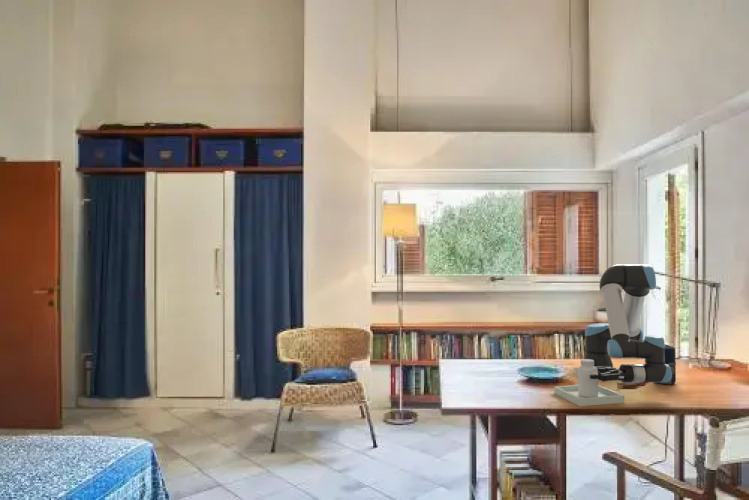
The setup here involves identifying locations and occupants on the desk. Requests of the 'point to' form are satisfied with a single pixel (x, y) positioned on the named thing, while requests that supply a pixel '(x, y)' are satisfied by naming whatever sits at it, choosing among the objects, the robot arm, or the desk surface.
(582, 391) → the pill bottle
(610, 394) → the tray
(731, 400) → the desk surface
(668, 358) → the canister
